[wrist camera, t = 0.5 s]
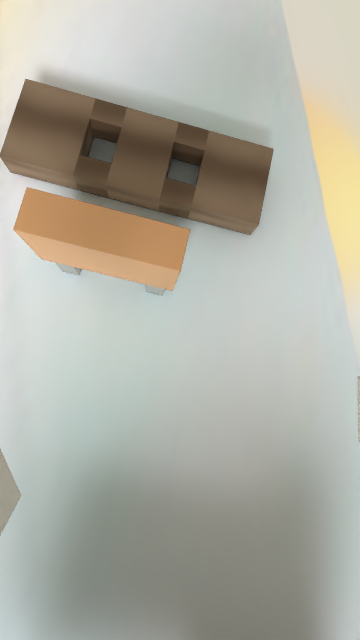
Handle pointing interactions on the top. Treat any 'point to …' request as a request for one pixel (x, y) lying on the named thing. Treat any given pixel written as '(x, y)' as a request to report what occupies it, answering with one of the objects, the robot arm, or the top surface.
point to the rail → (136, 157)
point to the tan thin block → (102, 240)
